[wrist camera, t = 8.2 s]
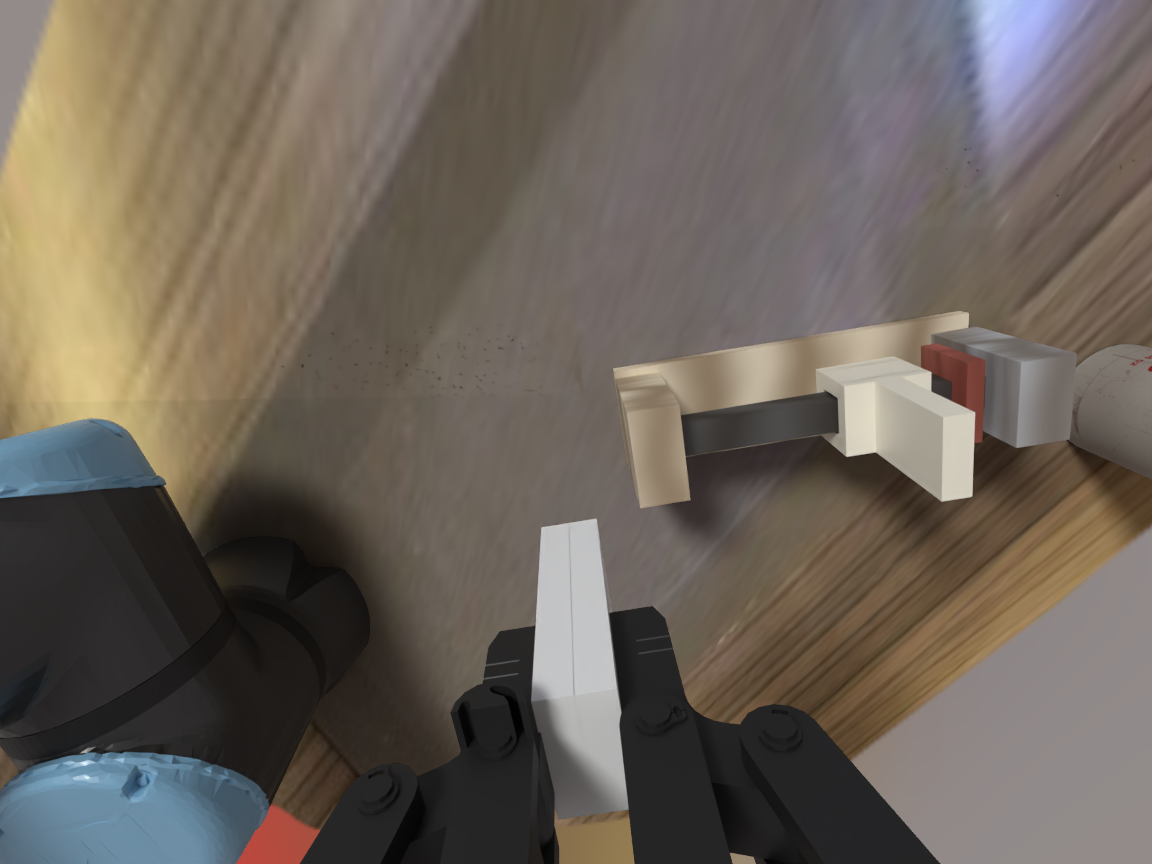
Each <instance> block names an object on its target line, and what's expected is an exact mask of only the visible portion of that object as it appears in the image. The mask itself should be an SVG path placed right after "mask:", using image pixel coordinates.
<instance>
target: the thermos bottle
mask: <svg viewBox="0 0 1152 864" xmlns="http://www.w3.org/2000/svg"><path fill="white" fill-rule="evenodd" d="M1069 441H1070V442H1071V443H1073V444H1074V445H1076V446H1077V447H1080V448H1082V449H1084V450H1086V451H1089V452H1091V453H1093V454H1095V455H1097V456H1100V457H1102V458H1104V459H1106V460H1109V461H1111V462H1113V463H1115V464H1118V465H1120V466H1122V467H1124V468H1127V469H1129V470H1131V471H1133V472H1136V473H1138V474H1140V475H1142V476H1145V477H1147V478H1149V479H1152V348H1150V347H1145V346H1140V345H1134V344H1121V345H1116V346H1112V347H1108V348H1105V349H1103V350H1100V351H1098V352H1096V353H1094V354H1093V355H1091V356H1090V357H1088V358H1086V359H1085V360H1084V361H1083V362H1082V363H1081V364H1079V365H1078V366H1077V367H1076V372H1075V384H1074V395H1073V407H1072V419H1071V430H1070V440H1069Z"/></svg>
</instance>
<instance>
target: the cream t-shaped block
mask: <svg viewBox="0 0 1152 864" xmlns="http://www.w3.org/2000/svg"><path fill="white" fill-rule="evenodd" d="M931 373H932V372H930V371H928V370H925V369H923V368H920V367H918V366H916V365H913V364H911V363H909V362H906V361H904V360H901V359H899V358H897V357H894V356H893V357H887V358H880V359H874V360H868V361H862V362H856V363H850V364H844V365H838V366H832V367H826V368H820V369H816V389H817V393H820V392H826V391H827V392H829V393H831V394H832V395H834V396H835V397H837V398H838V418H839V432H833V433H827V434H821V436H822V437H823V438H825V439H826V440H827V441H828V442H829V443H831V444H832V445H833V446H834V447H835V448H836V449H838V450H839V451H840V452H841V453H842V454H844V455H845V456H846V457H850V456H856V455H862V454H868V453H875V452H876V453H878V454H879V455H880V456H882V457H883V458H884V459H886V460H887V461H888V462H890V463H891V464H892V465H894V466H895V467H896V468H898V469H899V470H900V471H902V472H903V473H904V474H906V475H907V476H908V477H910V478H911V479H912V480H914V481H915V482H916V483H918V484H919V485H920V486H922V487H923V488H924V489H926V490H927V491H928V492H930V493H931V494H932V495H934V496H935V497H936V498H938V499H939V500H940V501H948V500H955V499H961V498H968V497H972V490H973V462H974V433H975V412H973V411H971V410H969V409H967V408H965V407H963V406H961V405H959V404H957V403H954V402H952V401H950V400H948V399H946V398H944V397H942V396H940V395H938V394H935V393H933V392H931Z"/></svg>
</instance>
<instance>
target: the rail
mask: <svg viewBox="0 0 1152 864" xmlns="http://www.w3.org/2000/svg"><path fill="white" fill-rule="evenodd" d="M968 321H969V313H966V312H962V311H957V312H951V313H945V314H939V315H933V316H927V317H921V318H915V319H909V320H903V321H897V322H891V323H885V324H879V325H873V326H867V327H860V328H854V329H848V330H842V331H836V332H830V333H824V334H818V335H812V336H806V337H800V338H794V339H788V340H782V341H776V342H770V343H764V344H758V345H752V346H746V347H740V348H734V349H728V350H722V351H716V352H710V353H704V354H698V355H692V356H686V357H680V358H674V359H668V360H662V361H656V362H650V363H644V364H638V365H632V366H625V367H619V368H613V372H614V379H615V385H616V392H617V399H618V406H619V412H620V419H621V426H622V432H623V439H624V446H625V452H626V459H627V464H628V466H629V468H630V472H631V475H632V479H633V483H634V486H635V490H636V494H637V497H638V501H639V504H640V508H645V507H651V506H657V505H663V504H670V503H676V502H682V501H688V500H690V491H689V483H688V474H687V466H686V457H689V456H696V455H702V454H708V453H714V452H720V451H727V450H733V449H739V448H745V447H751V446H758V445H764V444H770V443H776V442H782V441H789V440H795V439H801V438H807V437H813V436H820V435H821V434H827V433H833V432H839V418H838V398H837V397H835V396H834V395H832V394H831V393H829V392H827V391H826V392H820V393H817V389H816V369H820V368H826V367H832V366H838V365H844V364H850V363H856V362H862V361H868V360H874V359H880V358H887V357H893V356H894V357H897V358H899V359H901V360H904V361H906V362H909V363H911V364H913V365H916V366H918V367H920V368H923V369H925V370H928V371H930V372H932V373H931V392H933V393H935V394H938V395H940V396H942V397H944V398H946V399H948V400H950V401H952V402H954V403H957V404H959V405H961V406H963V407H965V408H967V409H969V410H971V411H973V412H975V433H974V443H980V442H982V437H983V431H984V432H986V433H988V434H990V435H992V436H994V437H996V438H998V439H1000V440H1002V441H1003V442H1005V443H1007V444H1009V445H1011V446H1013V447H1015V448H1020V447H1026V446H1032V445H1039V444H1045V443H1051V442H1058V441H1064V440H1070V430H1071V419H1072V407H1073V395H1074V384H1075V372H1076V360H1077V353H1073V352H1069V351H1065V350H1062V349H1058V348H1054V347H1050V346H1047V345H1043V344H1039V343H1035V342H1032V341H1028V340H1024V339H1020V338H1017V337H1013V336H1009V335H1005V334H1002V333H998V332H994V331H990V330H987V329H983V328H979V327H970V328H968Z"/></svg>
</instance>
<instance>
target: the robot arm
mask: <svg viewBox="0 0 1152 864" xmlns="http://www.w3.org/2000/svg"><path fill="white" fill-rule="evenodd" d="M164 485H166V482H165V480H164V479H163V478H162V477H160V476H158V475H156V473H155V472H154V470H153V469H152V467H151V466H150V464H149V462H148V461H147V459H146V458H145V456H144V454H143V453H142V451H141V450H140V448H139V447H138V445H137V443H136V442H135V440H134V439H133V437H132V436H131V434H130V433H129V432H128V431H127V430H126V429H124V428H123V427H121V426H120V425H118V424H116V423H114V422H111V421H108V420H103V419H84V420H79V421H75V422H70V423H66V424H62V425H58V426H54V427H50V428H46V429H42V430H38V431H34V432H30V433H26V434H22V435H18V436H14V437H10V438H6V439H2V440H0V746H1V747H2V749H3V750H4V751H5V753H6V754H7V756H8V757H9V759H10V760H11V761H12V763H13V764H14V765H15V767H16V768H17V770H18V774H17V775H16V776H14V777H13V778H12V779H11V780H10V781H9V782H7V783H6V784H5V785H4V787H3V788H2V790H1V791H0V864H236V863H237V861H238V860H239V858H240V856H241V854H242V853H243V851H244V849H245V847H246V845H247V844H248V842H249V841H250V839H251V837H252V835H253V833H254V832H255V830H256V829H258V828H259V827H260V826H261V824H262V823H263V820H264V819H265V818H266V815H267V812H268V810H269V807H270V805H271V803H272V801H273V798H274V796H275V794H276V792H277V790H278V788H279V786H280V783H281V781H282V779H283V777H284V775H285V773H286V771H287V769H288V766H289V764H290V762H291V760H292V758H293V756H294V754H295V752H296V749H297V747H298V745H299V743H300V741H301V739H302V737H303V734H304V732H305V730H306V728H307V726H308V724H309V722H310V720H311V717H312V715H313V713H314V711H315V709H316V707H317V705H318V703H319V701H320V699H321V698H322V697H323V696H324V695H325V694H327V693H328V692H329V691H330V690H331V689H332V688H333V687H334V686H336V685H337V684H338V683H339V682H340V681H341V678H342V673H343V672H344V671H345V670H346V669H347V668H348V667H349V666H350V664H351V663H352V662H353V661H354V660H355V659H356V658H357V656H358V655H359V654H360V653H361V651H362V650H363V649H364V647H365V646H366V645H367V643H368V640H369V634H370V619H369V613H368V609H367V605H366V602H365V600H364V597H363V595H362V593H361V591H360V589H359V588H358V586H357V585H356V583H355V582H354V580H353V579H352V578H351V576H350V575H349V574H348V573H347V572H346V571H345V570H343V569H339V568H334V567H320V568H317V567H313V566H311V565H310V564H309V563H308V562H307V559H306V557H305V555H304V553H303V552H302V550H301V549H300V547H299V546H298V545H297V544H296V543H295V542H294V541H292V540H288V539H283V538H277V537H250V538H243V539H238V540H235V541H231V542H229V543H226V544H223V545H221V546H219V547H217V548H215V549H214V550H212V551H211V552H209V553H208V554H206V556H205V557H204V558H203V556H202V554H201V553H200V551H199V549H198V547H197V545H196V544H195V542H194V540H193V538H192V536H191V534H190V533H189V531H188V529H187V527H186V525H185V523H184V522H183V520H182V518H181V516H180V514H179V512H178V511H177V509H176V507H175V505H174V503H173V501H172V500H171V498H170V496H169V494H168V492H167V490H166V489H165V487H164ZM451 716H452V720H453V723H454V727H455V731H456V734H457V738H458V741H459V745H460V748H461V752H460V754H459V755H458V756H457V757H455V758H454V759H453V760H451V761H450V762H448V763H446V764H444V765H443V766H441V767H439V768H436V769H434V770H432V771H429V772H427V773H424V774H422V775H420V776H416V773H415V772H414V771H413V770H412V769H411V768H410V767H409V766H406V765H402V764H398V763H394V764H386V765H381V766H379V767H376V768H374V769H371V770H369V771H367V772H366V773H364V774H363V775H362V776H360V777H359V778H358V779H356V780H355V781H354V782H353V783H352V784H351V786H350V787H349V788H348V789H347V790H346V791H345V793H344V794H343V796H342V797H341V799H340V801H339V802H338V804H337V805H336V807H335V809H334V810H333V812H332V813H331V815H330V817H329V818H328V820H327V821H326V823H325V825H324V826H323V828H322V829H321V831H320V833H319V834H318V836H317V837H316V839H315V841H314V842H313V844H312V845H311V847H310V848H309V850H308V852H307V853H306V855H305V857H304V858H303V860H302V861H301V863H300V864H559V845H558V840H557V836H556V831H555V827H554V804H555V808H556V812H557V816H558V819H565V818H572V817H579V816H586V815H593V814H600V813H606V812H613V811H620V810H627V809H629V817H630V826H631V835H632V844H633V853H634V862H635V864H732V860H731V856H730V853H736V854H742V855H747V856H752V857H754V859H755V862H756V864H940V863H939V862H938V861H937V860H936V858H935V857H934V856H933V855H932V854H931V853H930V852H929V850H928V849H927V848H926V847H925V846H924V845H923V843H922V842H921V841H920V840H919V839H918V838H917V837H916V835H915V834H914V833H913V832H912V831H911V830H910V829H909V827H908V826H907V825H906V824H905V823H904V822H903V821H902V819H901V818H900V817H899V816H898V815H897V814H896V813H895V811H894V810H893V809H892V808H891V807H890V806H889V805H888V803H887V802H886V801H885V800H884V799H883V798H882V797H881V796H880V794H879V793H878V792H877V791H876V790H875V789H874V787H873V786H872V785H871V784H870V783H869V782H868V781H867V779H866V778H865V777H864V776H863V775H862V774H861V773H860V771H859V770H858V769H857V768H856V767H855V766H854V764H853V763H852V762H851V761H850V760H849V759H848V758H847V756H846V755H845V754H844V753H843V752H842V751H841V750H840V748H839V747H838V746H837V745H836V744H835V743H834V742H833V740H832V739H831V738H830V737H829V736H828V735H827V734H826V732H825V731H824V730H823V729H822V728H821V727H820V726H819V724H818V723H817V722H816V721H815V720H814V719H812V718H811V717H810V716H809V715H808V714H806V713H805V712H804V711H801V710H798V709H796V708H793V707H791V706H785V705H775V704H773V705H768V706H762V707H759V708H757V709H755V710H753V711H752V712H750V713H748V714H747V715H746V717H745V718H744V719H743V721H742V722H741V725H739V724H730V723H723V722H718V721H713V720H711V719H709V718H706V717H704V716H702V715H701V714H699V713H698V712H696V711H695V710H694V709H693V708H692V707H691V705H690V704H689V703H688V701H687V699H686V696H685V693H684V689H683V685H682V681H681V678H680V674H679V670H678V666H677V662H676V658H675V655H674V651H673V647H672V643H671V639H670V636H669V632H668V628H667V624H666V620H665V618H664V617H663V616H662V615H661V614H660V613H659V612H658V611H657V610H656V609H655V608H654V607H653V606H651V607H644V608H638V609H631V610H625V611H618V612H612V607H611V601H610V595H609V589H608V583H607V577H606V571H605V565H604V560H603V554H602V548H601V542H600V536H599V530H598V524H597V519H592V520H585V521H579V522H573V523H567V524H560V525H554V526H548V527H542V528H541V544H540V561H539V578H538V595H537V612H536V626H532V627H525V628H519V629H512V630H506V631H500V632H499V633H498V635H497V636H496V638H495V639H494V640H493V642H492V643H491V645H490V646H489V648H488V654H487V660H486V667H485V672H484V680H483V684H480V685H477V686H475V687H474V688H472V689H470V690H468V691H467V692H465V693H464V694H463V695H462V696H461V697H460V698H459V699H458V700H457V701H456V702H455V704H454V706H453V709H452V711H451Z"/></svg>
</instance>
